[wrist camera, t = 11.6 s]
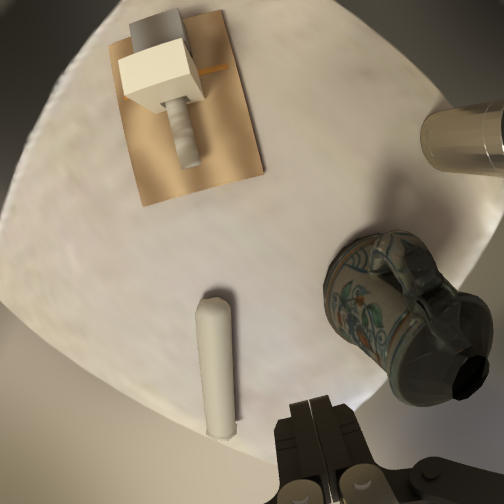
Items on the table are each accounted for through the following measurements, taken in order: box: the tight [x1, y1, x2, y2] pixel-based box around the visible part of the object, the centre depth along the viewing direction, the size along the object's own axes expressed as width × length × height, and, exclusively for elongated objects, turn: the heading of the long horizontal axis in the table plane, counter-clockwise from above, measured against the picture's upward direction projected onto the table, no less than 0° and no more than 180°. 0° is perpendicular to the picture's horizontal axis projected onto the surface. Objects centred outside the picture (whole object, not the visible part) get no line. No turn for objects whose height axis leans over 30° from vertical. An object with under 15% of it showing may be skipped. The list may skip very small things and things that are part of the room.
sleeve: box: [118, 38, 205, 114], centre depth 30 cm, size 6×4×11 cm, turn 104°
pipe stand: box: [109, 8, 264, 207], centre depth 33 cm, size 16×24×7 cm, turn 14°
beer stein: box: [323, 230, 493, 407], centre depth 32 cm, size 16×19×25 cm
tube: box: [195, 297, 237, 441], centre depth 45 cm, size 5×5×25 cm
